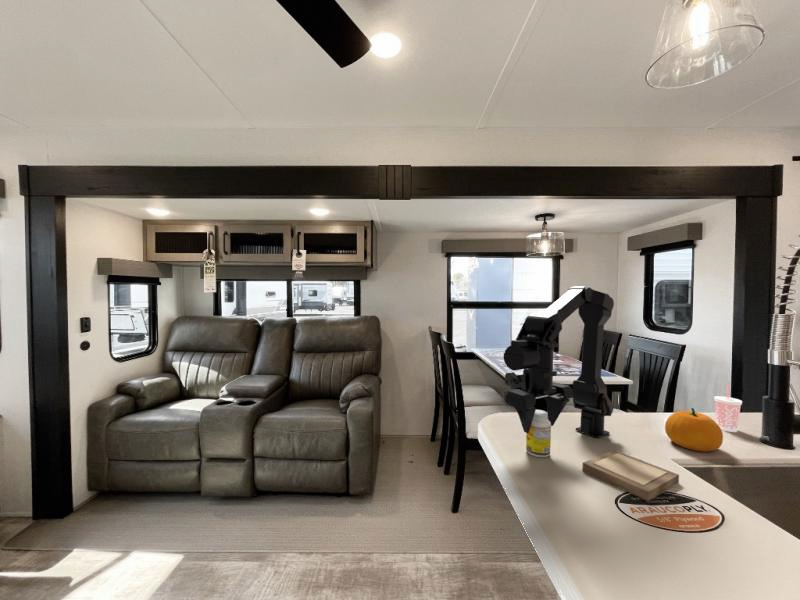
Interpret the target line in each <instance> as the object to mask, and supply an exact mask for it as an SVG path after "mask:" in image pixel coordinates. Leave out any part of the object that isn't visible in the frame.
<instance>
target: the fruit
mask: <svg viewBox="0 0 800 600" xmlns="http://www.w3.org/2000/svg"><path fill="white" fill-rule="evenodd" d="M664 425H665V426H664V430H665V434H666V435H667V437H668V438H669V439H670V440H671V441H672V442H673V443H674V444H676V445H678V446H680V447H682V448H686V449H687V450H693V451H696V452H712V451H716V450H718V449H719V448H720V447H721V446H722V444H723V441H724V433H723V430H721V428H720V427H719V426H718V424H717V423H716V420H714V419H712V418H711V417H710V416H708V415H706V414H705V413H704V414H703V413H701V412H697V411H695V409H694V408H693V407H691V410H677V411H676V412H674V413H672V414H670V415H669V416H668V417H667V419H666V421H665V424H664Z"/></svg>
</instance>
